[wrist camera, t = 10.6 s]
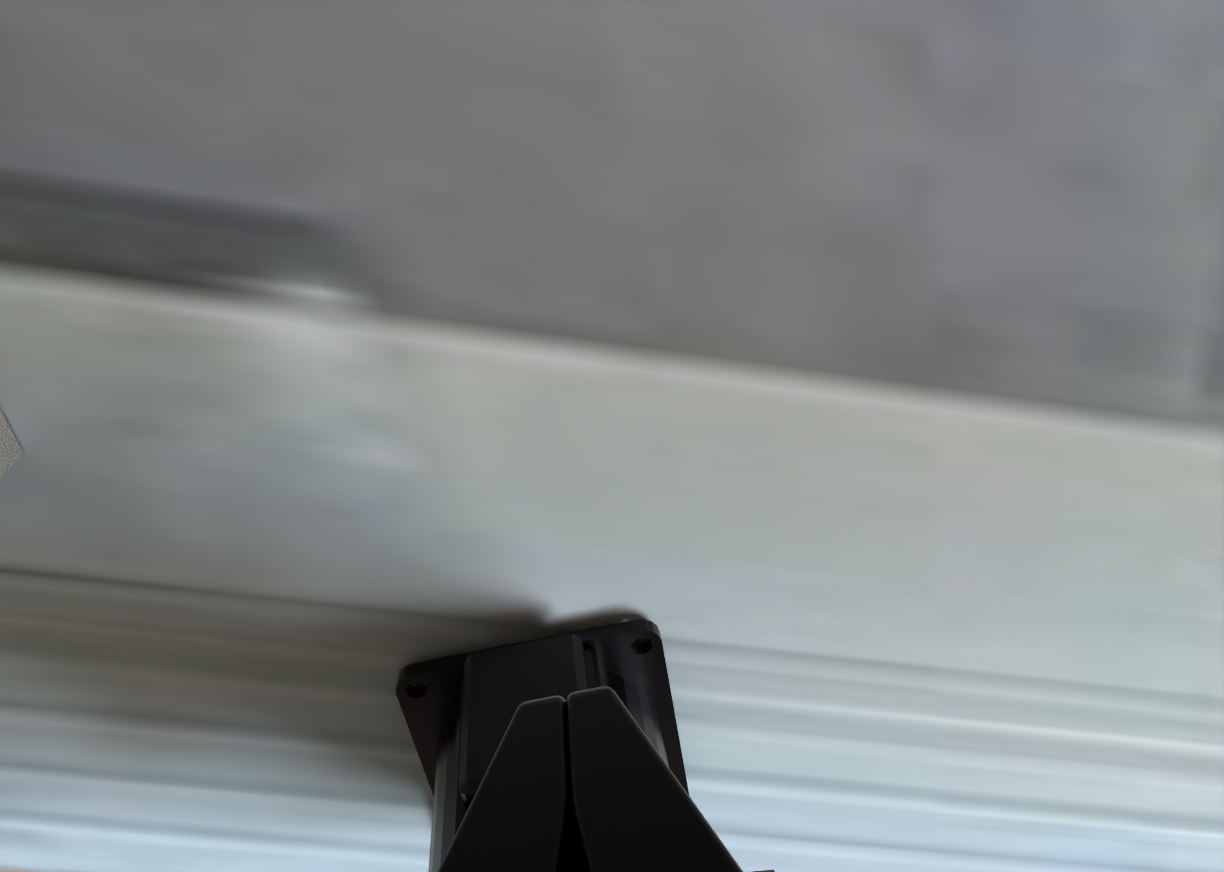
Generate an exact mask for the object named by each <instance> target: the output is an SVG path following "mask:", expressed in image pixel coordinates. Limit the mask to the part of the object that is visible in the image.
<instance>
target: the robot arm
mask: <svg viewBox="0 0 1224 872" xmlns="http://www.w3.org/2000/svg"><path fill="white" fill-rule="evenodd" d="M639 638H646V639H648V640H647V641H646V642H643V643H634V641H635V640H637V639H639ZM413 682H420V683H423V684H425V685H423V686H413V685H411V683H413ZM396 695H397V697H398V700H399V703H400V706H401V708H402V711H403V714H404V716H405V719H406V722H407V725H408V727H409V730H410V733H411V736H412V738H413V741H414V744H415V746H416V749H417V752H418V755H419V757H420V760H421V763H422V766H423V768H424V771H425V774H426V776H427V779H428V782H429V785H430V787H431V790H432V793H433V796H434V804H433V817H432V831H431V844H430V858H429V872H743V871H742V870H741V868H740V867H739V865H738V864H737V863H736V861H735V860H734V858H733V857H732V856H731V854H730V853H729V851H728V850H727V848H726V847H725V846H724V844H723V843H722V841H721V840H720V839H719V837H718V836H717V834H716V833H715V832H714V830H713V829H712V827H711V826H710V825H709V823H708V822H707V820H706V819H705V818H704V816H703V815H702V813H701V812H700V811H699V809H698V808H697V806H696V805H695V804H694V802H693V801H692V799H691V798H690V797H689V792H688V786H687V781H686V775H685V769H684V764H683V758H682V753H681V747H680V741H679V736H678V730H677V724H676V719H675V713H674V707H673V702H672V696H671V690H670V685H669V679H668V674H667V668H666V662H665V657H664V651H663V645H662V640H661V636H660V631H659V629H658V627H657V626H656V625H655V624H654V623H653V622H651V621H648V620H645V619H644V620H633V621H628V622H623V623H617V624H612V625H607V626H602V627H597V628H592V629H587V630H581V631H576V632H571V633H566V634H561V635H556V636H551V637H546V638H540V639H535V640H530V641H525V642H520V643H515V644H510V645H504V646H499V647H494V648H489V649H484V650H479V651H474V652H469V653H463V654H458V655H453V656H448V657H443V658H438V659H433V660H427V661H422V662H417V663H412V664H410V665H407V666H405V667H404V668H402V669H401V670H400V672H399V674H398V676H397V683H396ZM754 872H775V871H774V870H766V871H754Z"/></svg>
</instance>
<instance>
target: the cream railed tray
mask: <svg viewBox="0 0 1224 872" xmlns="http://www.w3.org/2000/svg"><path fill="white" fill-rule="evenodd" d="M22 453H23V451H22V449H21V447H20V445H19V444H18V442H17V440H16V438H15V436H14V434H13V432H12V431H11V429H10V427H9V425H8V423H7V421H6V419H5V417H4V416H3V414H2V412H1V410H0V478H1V477H2V476H3V475H4V474H5V472H6V471H7V470H8V469H9V468H10V467H11V466H12V465H13V463H14V462H15V461H16V460H17V459H18V458H19V457H20V455H21V454H22Z"/></svg>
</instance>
